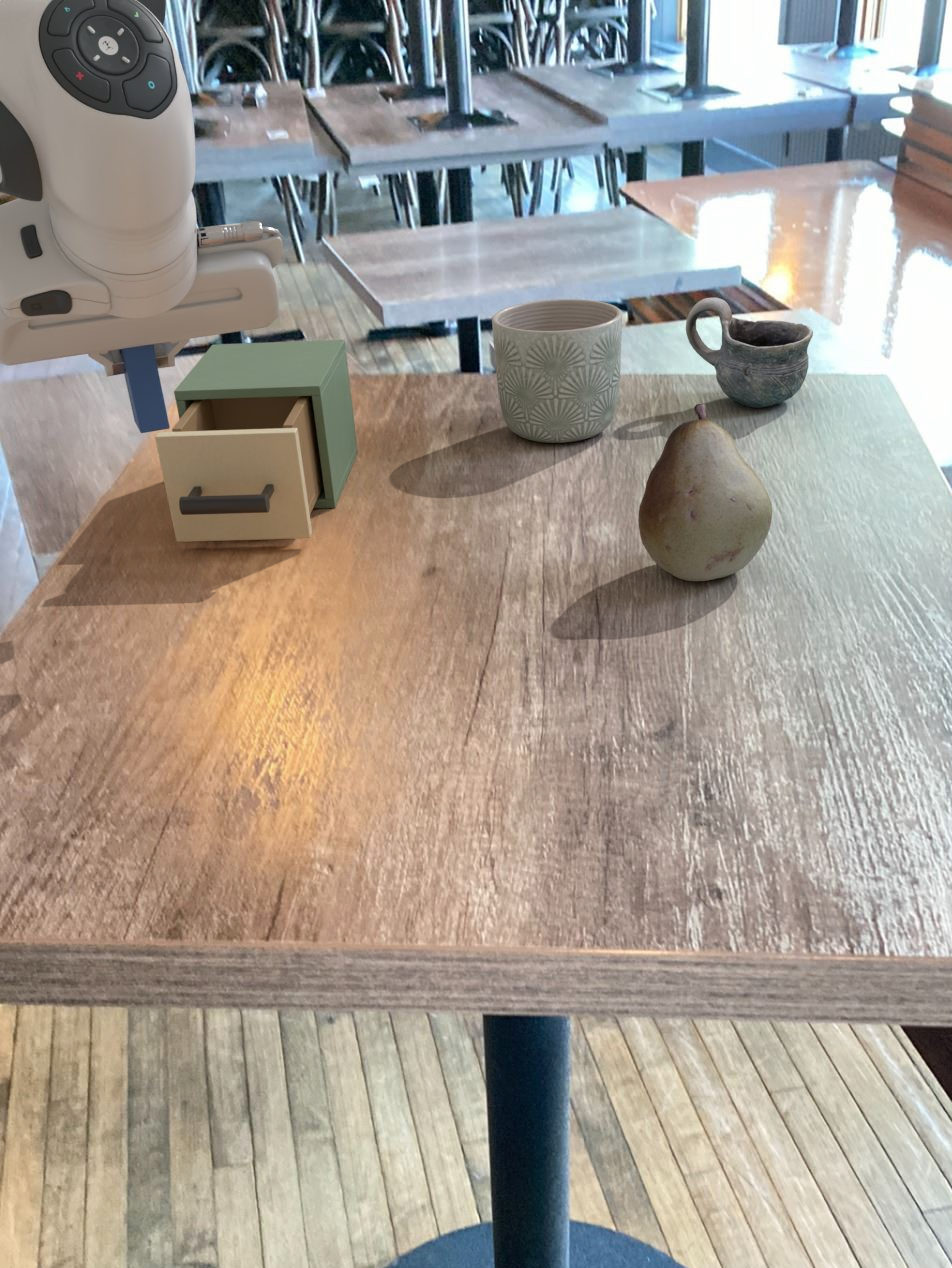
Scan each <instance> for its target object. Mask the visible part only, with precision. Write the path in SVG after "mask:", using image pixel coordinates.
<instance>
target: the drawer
mask: <svg viewBox="0 0 952 1268" xmlns="http://www.w3.org/2000/svg"><path fill="white" fill-rule="evenodd" d="M154 439H155V444H156V449H157V453H158V454H157V455H158V458H159V459H158V460H159V463H160V468H161V473H162V478H163V483H164V487H165V488H164V489H165V492H166V498H167V502H168V507H169V512H170V517H171V521H172V527H173V531H174V536H175V541H176V543H181V542H182V543H186V542H218V541H219V542H221V541H225V542H226V541H257V540H262V541H263V540H294V539H296V540H297V539H299V540H300V539H310V538H311V537H312V534H313V527H312V522H311V521H312V520H311V514H312V512H313V509H314V508H313V507H314V505H315V503H316V501H317V498H318V496H319V494H320V492H321V489H322V487H323V485H324V484H323V477H322V469H321V462H320V454H319V447H318V439H317V432H316V424H315V417H314V409H313V402H312V396H289V397H260V398H231V399H203V400H194V401H193V403H192V404H191V405H190V407H189V408H188V409H187V410H186V412H185V413H184V414H183V416H182V417H181V418H180V419H179V418H178V421H177V422H176V423H175V425H174V426H172V428H171V431H160V432H159V431H158V433H157V434H156V435H155V437H154Z"/></svg>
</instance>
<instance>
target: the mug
mask: <svg viewBox="0 0 952 1268" xmlns="http://www.w3.org/2000/svg"><path fill="white" fill-rule="evenodd" d="M707 311H708V312H709V311H710V312H713V313H715V314H717V315H718V317H719V322H720V325H721V345H720V348H719V349H712V348H710V347H709V346H708V345H707V344H706V343H705V342H704V341H703V339H702V338H701V336H700V334H699V332H698V330H697V320H698V318H699V317H700V315H701V314H702V313H704V312H707ZM685 333H686V337H687V340H688V342H689V344H690V346H691V347H692V349H693V350H694V351H695V353H697V355H698V356H700V357H701V359H703V360H704V361H706V362H707V364H709V365H711V366H712V367H714V370H715V379H716V383H717V384H718V385H719V387H720V389H721V391H722V392H723V394H725V396H726V397H728V399H731V400H733V401H734V402H736V403H738V404H739V405H742V406H744V407H745V406H746V407H749V408H766V407H770V406H774V405H779V404H781V403H784V402H786V401H787V400H790V399H792V397H794V396H795V395H796V394H797V393H798V392H799V391H800V389H801V388H802V386H803V384H804V382H805V381H806V377H807V374H808V370H809V362H810V361H809V354H808V348H809V345H810V343H811V340H812V338H813V336H814V331H813V329H812V328H811V327H810V326H809V325H806V324H804V323H795V322H791V321H787V320H773V319H772V320H769V319H768V320H766V319H765V320H756V321H753V320H748V319H743V318H737V317H733V313H732V309H731V306H730V305H729V303H728V302H727V301H726V300H724V299H722V298H719V297H705V298H703V299H701V300H699V301H698V302H696V304H694V306H693V307H691V309H690V311H689V312H688V315H687V317H686V322H685Z"/></svg>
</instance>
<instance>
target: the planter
mask: <svg viewBox="0 0 952 1268" xmlns="http://www.w3.org/2000/svg"><path fill="white" fill-rule="evenodd" d="M491 325H492V338H493V351H494V362H495V363H494V364H495V375H496V384H497V392H498V398H499V406H500V411H501V414H502V417H503V420H504V422H505V424H506V426H507V427H508V429H509V430H510V431H511V432H512V433H514V434H515V435H517V436H519V437H520V438H522V439H525V440H529V441H532V442H537V443H538V442H539V443H546V444H547V443H549V444H563V443H573V442H578V441H583V440H586V439H590V438H593V437H595V436H597V435H599V434H600V433H602V432H603V431H605V430H606V429H607V428H608V427H609V426H610V425H611V423H612V422H613V420H614V419H615V415H616V413H617V407H618V402H619V394H620V382H621V367H622V366H621V365H622V363H621V362H622V338H623V337H622V333H623V312H622V310H621V309H620V308H618V306H616V305H614V304H611V303H607V302H603V301H600V300H592V299H581V298H580V299H579V298H555V299H554V298H553V299H543V300H542V299H541V300H534V301H528V302H522V303H518V304H514V305H512V306H507V307H505V308H502V309H501V310H499V311H497V312H496V313H495V314H494V315H493V316H492V318H491Z"/></svg>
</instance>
